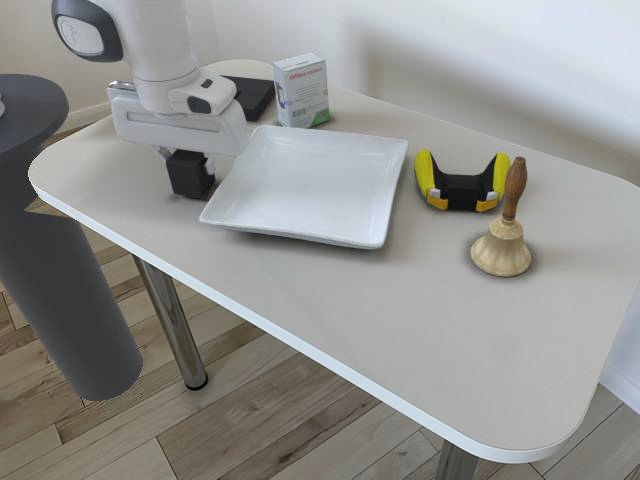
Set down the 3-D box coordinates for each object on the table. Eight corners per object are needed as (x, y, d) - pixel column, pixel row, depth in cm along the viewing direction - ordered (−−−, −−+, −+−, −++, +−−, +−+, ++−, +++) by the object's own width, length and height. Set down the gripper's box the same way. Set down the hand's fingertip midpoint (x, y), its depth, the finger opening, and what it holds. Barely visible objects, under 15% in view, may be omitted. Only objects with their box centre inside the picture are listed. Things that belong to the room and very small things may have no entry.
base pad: (179, 112, 108) (176, 100, 106) (205, 84, 116) (203, 73, 114) (256, 121, 105) (254, 109, 103) (277, 92, 113) (276, 80, 111)
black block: (173, 193, 88) (165, 162, 83) (187, 175, 91) (180, 144, 87) (202, 199, 87) (195, 167, 83) (215, 180, 90) (209, 149, 86)
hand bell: (473, 276, 75) (492, 179, 63) (467, 235, 80) (483, 140, 69) (536, 277, 74) (566, 180, 63) (524, 236, 80) (550, 141, 69)
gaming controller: (413, 173, 92) (411, 211, 85) (415, 144, 88) (413, 181, 81) (505, 177, 90) (511, 216, 83) (511, 149, 87) (518, 187, 80)
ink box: (291, 134, 101) (284, 72, 93) (277, 122, 105) (270, 61, 96) (330, 120, 105) (327, 59, 96) (316, 109, 108) (312, 49, 100)
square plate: (200, 239, 81) (194, 219, 78) (260, 140, 100) (257, 121, 98) (382, 264, 77) (383, 243, 74) (409, 156, 96) (410, 136, 93)
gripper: (90, 89, 76) (120, 172, 86) (228, 106, 73) (243, 190, 82) (115, 69, 81) (141, 150, 90) (246, 84, 77) (258, 166, 87)
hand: (190, 169), depth 86 cm, fingers closed on black block, 5 cm apart
